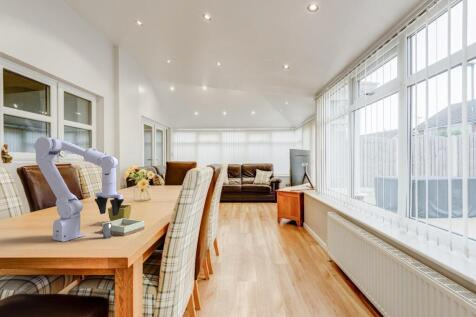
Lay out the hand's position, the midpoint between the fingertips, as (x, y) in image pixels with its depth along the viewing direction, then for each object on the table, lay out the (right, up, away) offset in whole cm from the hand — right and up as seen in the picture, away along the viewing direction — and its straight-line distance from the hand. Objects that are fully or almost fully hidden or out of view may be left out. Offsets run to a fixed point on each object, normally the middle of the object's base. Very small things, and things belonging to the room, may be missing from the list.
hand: (109, 214), depth 115 cm
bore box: (+3, -9, +8) cm, 13 cm away
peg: (0, -10, -2) cm, 10 cm away
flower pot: (-5, -10, +22) cm, 24 cm away
